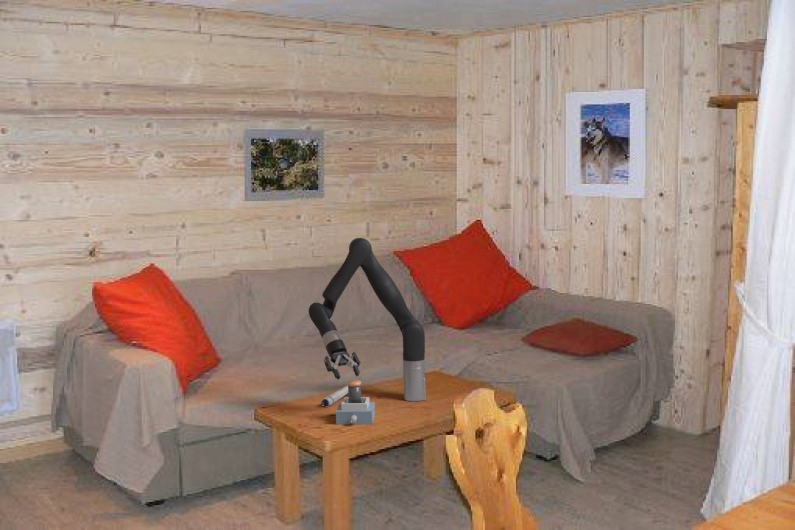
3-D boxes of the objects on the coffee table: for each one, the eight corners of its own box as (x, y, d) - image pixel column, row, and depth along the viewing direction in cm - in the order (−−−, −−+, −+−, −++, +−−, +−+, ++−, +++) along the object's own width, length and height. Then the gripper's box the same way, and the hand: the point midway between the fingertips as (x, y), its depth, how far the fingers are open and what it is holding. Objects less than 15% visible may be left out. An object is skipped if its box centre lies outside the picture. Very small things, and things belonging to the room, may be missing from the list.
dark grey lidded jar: (362, 404, 354) (361, 380, 353) (361, 408, 349) (360, 383, 348) (349, 405, 355) (348, 380, 354) (347, 408, 349) (346, 383, 348)
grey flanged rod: (319, 398, 372) (350, 377, 393) (320, 413, 374) (352, 391, 395) (329, 399, 370) (360, 378, 391) (331, 414, 371) (362, 392, 392)
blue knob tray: (375, 414, 359) (374, 395, 358) (371, 426, 342) (370, 407, 341) (340, 414, 360) (340, 396, 359) (335, 426, 343) (334, 407, 342)
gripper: (321, 340, 357) (335, 374, 349) (352, 336, 365) (367, 368, 356) (315, 351, 362) (329, 384, 354) (346, 347, 370) (361, 379, 361)
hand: (348, 376), depth 355 cm, fingers open, 8 cm apart
